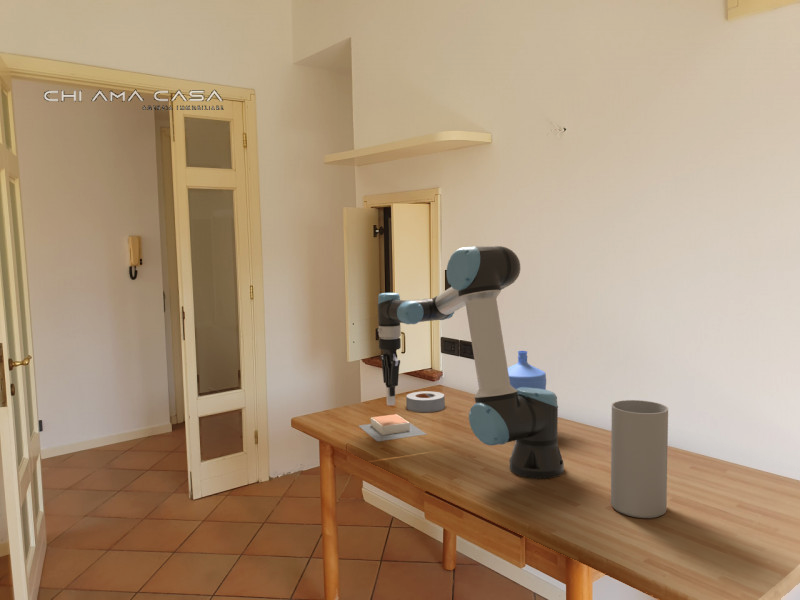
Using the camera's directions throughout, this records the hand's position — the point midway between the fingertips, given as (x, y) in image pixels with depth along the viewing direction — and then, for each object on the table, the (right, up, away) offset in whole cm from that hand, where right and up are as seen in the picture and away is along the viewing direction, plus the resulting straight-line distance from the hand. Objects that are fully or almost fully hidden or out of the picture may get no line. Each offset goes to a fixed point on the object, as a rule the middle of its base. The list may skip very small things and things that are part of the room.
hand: (391, 404), depth 212 cm
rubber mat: (0, -9, +1) cm, 9 cm away
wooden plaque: (+2, -8, -3) cm, 9 cm away
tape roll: (+13, -7, +32) cm, 35 cm away
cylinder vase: (+61, -14, -65) cm, 90 cm away
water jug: (+45, -9, -4) cm, 46 cm away
